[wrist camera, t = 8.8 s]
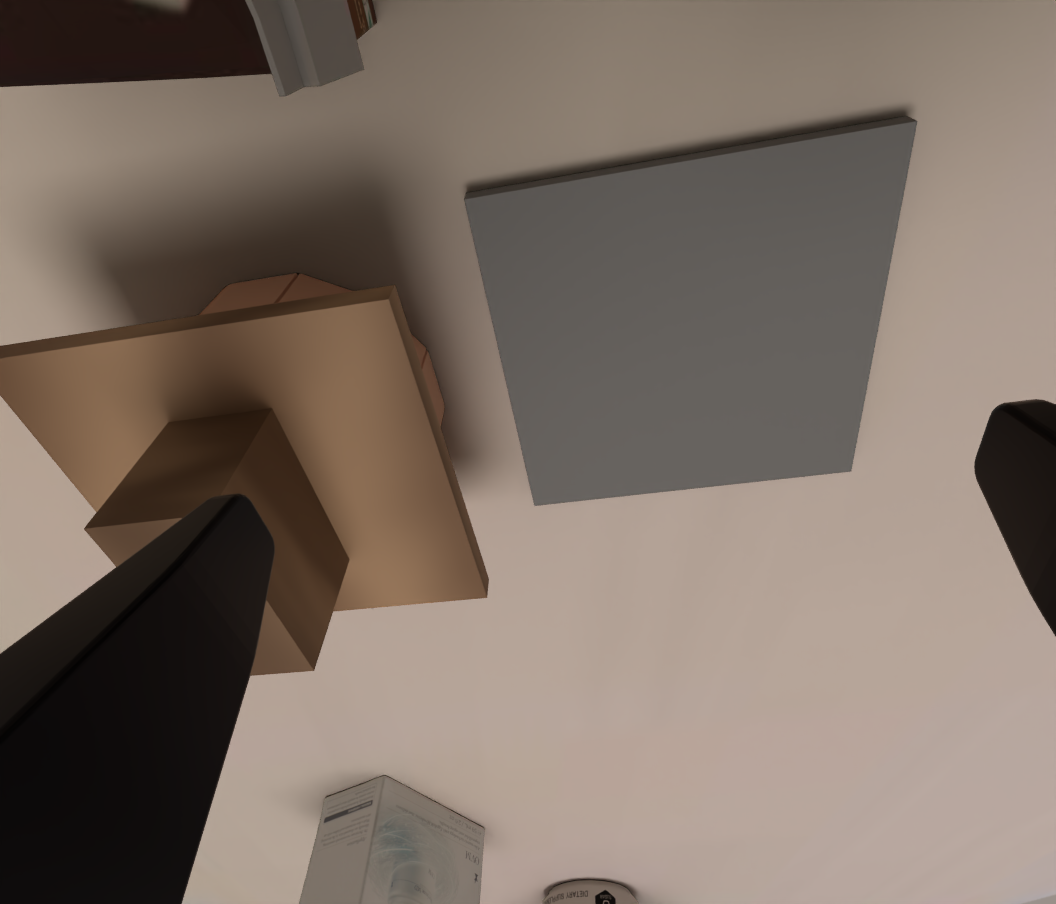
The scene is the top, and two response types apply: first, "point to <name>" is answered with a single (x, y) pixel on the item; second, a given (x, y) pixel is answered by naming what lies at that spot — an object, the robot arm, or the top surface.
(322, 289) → the terracotta bowl
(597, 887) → the supplement can
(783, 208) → the rubber mat
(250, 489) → the walnut lid
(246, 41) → the food container
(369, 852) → the skincare box
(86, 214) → the top surface
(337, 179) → the top surface
